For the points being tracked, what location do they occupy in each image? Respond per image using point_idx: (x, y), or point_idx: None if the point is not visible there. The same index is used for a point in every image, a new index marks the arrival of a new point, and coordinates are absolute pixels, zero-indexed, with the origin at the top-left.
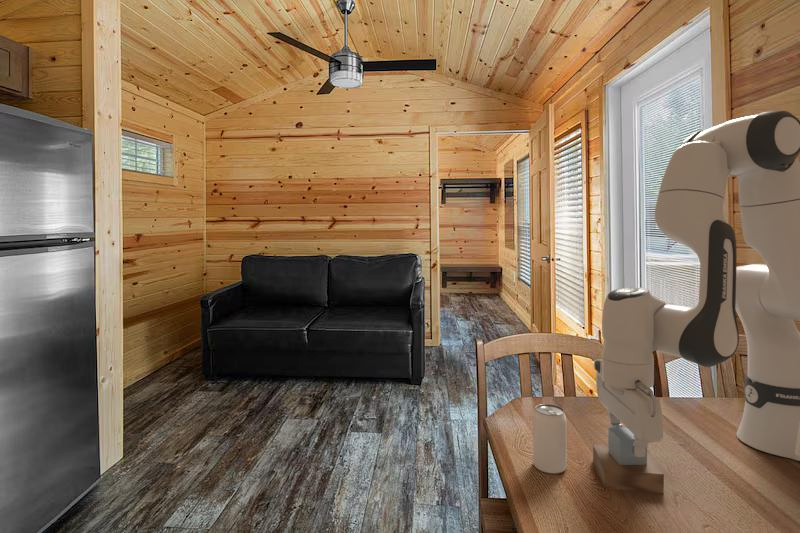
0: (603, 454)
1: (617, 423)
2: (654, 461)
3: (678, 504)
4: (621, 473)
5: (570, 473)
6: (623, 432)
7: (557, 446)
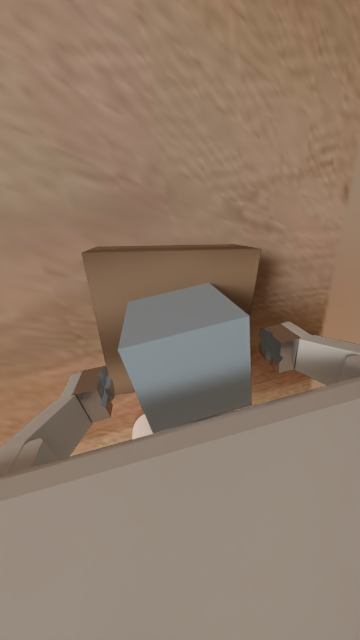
0: None
1: (80, 404)
2: (184, 252)
3: (276, 224)
4: None
5: None
6: (191, 393)
7: None
